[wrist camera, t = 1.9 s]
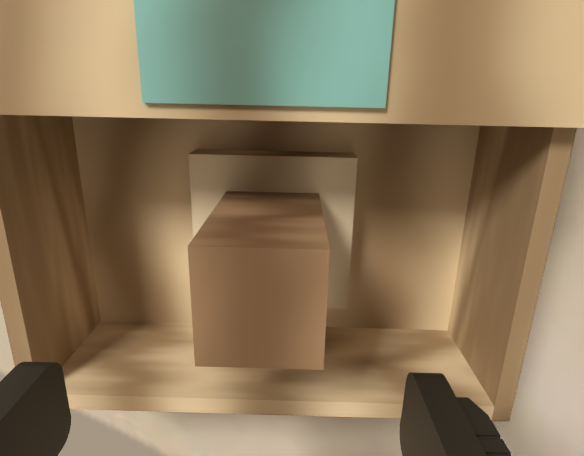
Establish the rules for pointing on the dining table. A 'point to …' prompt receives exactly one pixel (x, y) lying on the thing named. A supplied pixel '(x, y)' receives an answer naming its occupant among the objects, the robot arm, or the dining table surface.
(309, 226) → the block
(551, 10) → the crate
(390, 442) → the dining table surface
